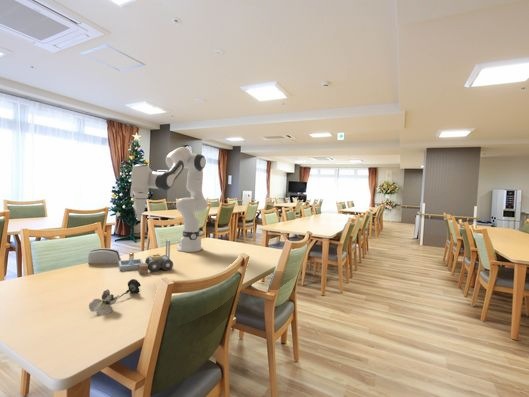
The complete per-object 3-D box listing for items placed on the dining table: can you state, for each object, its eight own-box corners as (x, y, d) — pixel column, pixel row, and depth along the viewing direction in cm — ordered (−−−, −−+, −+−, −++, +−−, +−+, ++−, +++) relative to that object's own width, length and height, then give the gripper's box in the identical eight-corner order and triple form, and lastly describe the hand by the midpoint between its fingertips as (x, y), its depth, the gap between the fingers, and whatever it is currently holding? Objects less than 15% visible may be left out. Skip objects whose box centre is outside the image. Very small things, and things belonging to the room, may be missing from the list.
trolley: (148, 272, 145) (149, 243, 144) (145, 266, 155) (146, 239, 154) (173, 270, 152) (174, 241, 151) (168, 264, 162) (169, 238, 161)
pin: (128, 265, 154) (129, 252, 154) (133, 264, 155) (133, 252, 155) (129, 266, 152) (129, 253, 152) (133, 266, 153) (134, 253, 153)
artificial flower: (144, 297, 118) (148, 277, 116) (100, 327, 97) (104, 304, 94) (128, 288, 120) (132, 269, 118) (81, 316, 99) (84, 293, 96)
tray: (118, 265, 156) (118, 260, 155) (141, 262, 162) (141, 258, 162) (119, 271, 145) (119, 266, 145) (143, 268, 152) (144, 264, 152)
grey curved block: (121, 260, 164) (120, 246, 160) (119, 265, 160) (117, 251, 156) (91, 260, 161) (89, 246, 157) (88, 265, 157) (85, 251, 153)
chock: (138, 271, 146) (138, 263, 146) (146, 271, 148) (146, 263, 148) (139, 274, 142) (139, 266, 142) (147, 273, 144) (147, 265, 144)
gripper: (131, 192, 154) (130, 216, 155) (134, 195, 136) (133, 222, 137) (143, 192, 157) (142, 216, 158) (148, 195, 140) (146, 222, 140)
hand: (138, 219), depth 147 cm, fingers open, 8 cm apart
